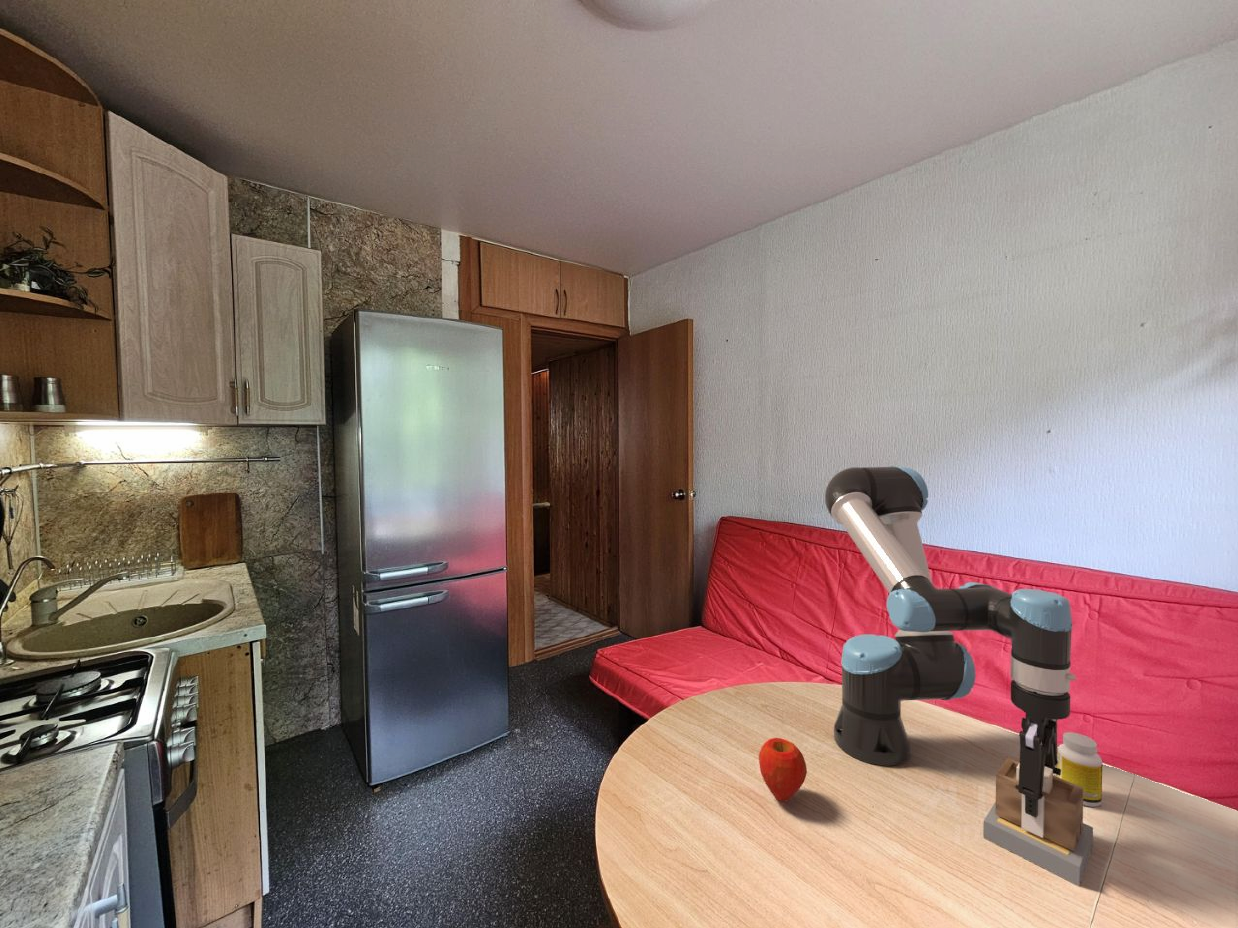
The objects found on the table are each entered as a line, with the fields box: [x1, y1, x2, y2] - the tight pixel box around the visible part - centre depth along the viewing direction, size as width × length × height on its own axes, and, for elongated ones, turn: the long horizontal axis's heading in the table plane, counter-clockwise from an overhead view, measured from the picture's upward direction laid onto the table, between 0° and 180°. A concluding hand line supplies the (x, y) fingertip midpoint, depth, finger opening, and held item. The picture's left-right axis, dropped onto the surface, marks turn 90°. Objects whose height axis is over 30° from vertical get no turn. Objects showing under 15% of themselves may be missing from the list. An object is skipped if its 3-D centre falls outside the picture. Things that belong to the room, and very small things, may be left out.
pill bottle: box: [1056, 731, 1103, 807], centre depth 92 cm, size 6×6×11 cm
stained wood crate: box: [995, 757, 1084, 851], centre depth 82 cm, size 10×7×7 cm
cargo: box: [1016, 763, 1054, 794], centre depth 82 cm, size 4×4×3 cm
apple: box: [758, 737, 808, 802], centre depth 93 cm, size 9×8×11 cm
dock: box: [982, 801, 1094, 887], centre depth 82 cm, size 12×12×3 cm
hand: (1038, 819), depth 82 cm, fingers closed on stained wood crate, 7 cm apart
